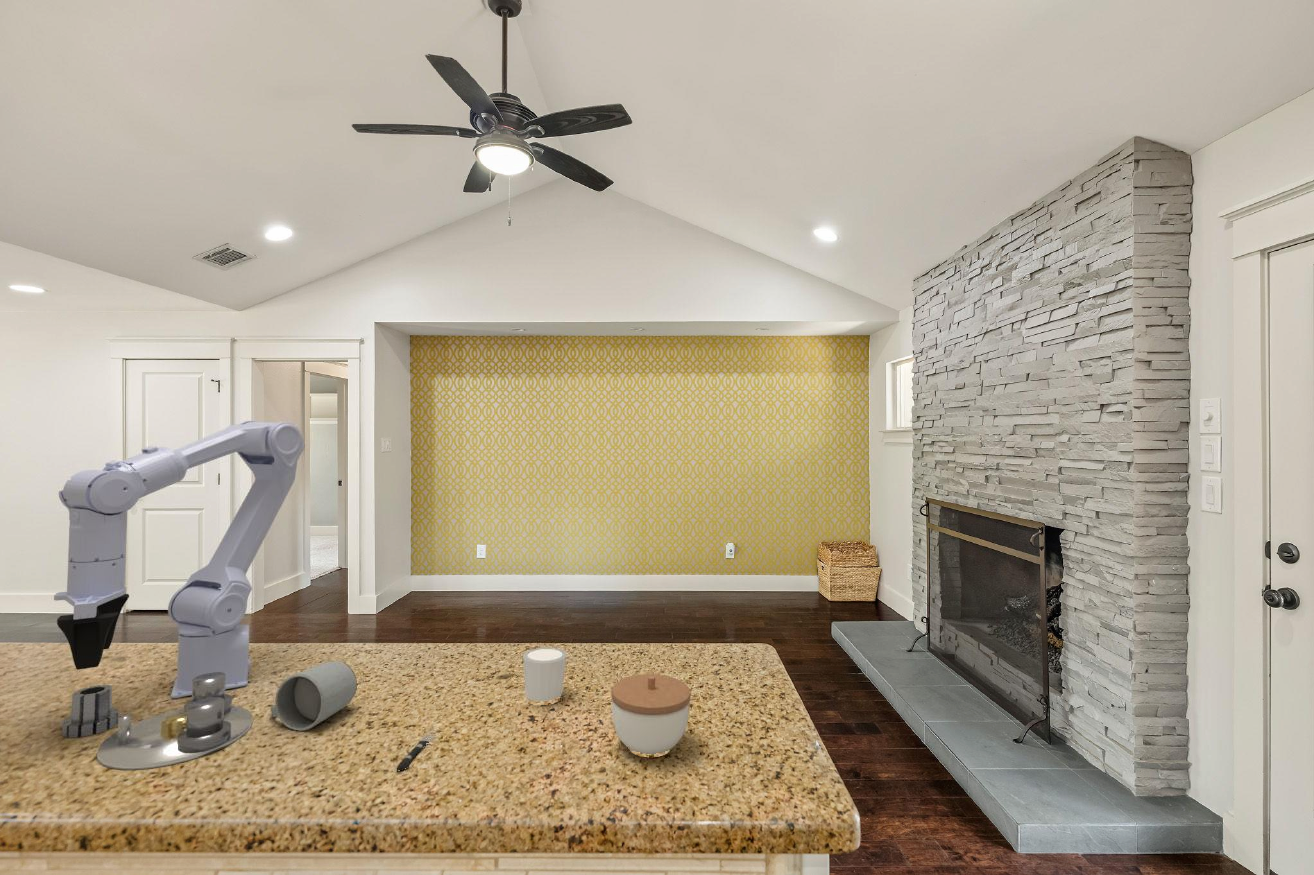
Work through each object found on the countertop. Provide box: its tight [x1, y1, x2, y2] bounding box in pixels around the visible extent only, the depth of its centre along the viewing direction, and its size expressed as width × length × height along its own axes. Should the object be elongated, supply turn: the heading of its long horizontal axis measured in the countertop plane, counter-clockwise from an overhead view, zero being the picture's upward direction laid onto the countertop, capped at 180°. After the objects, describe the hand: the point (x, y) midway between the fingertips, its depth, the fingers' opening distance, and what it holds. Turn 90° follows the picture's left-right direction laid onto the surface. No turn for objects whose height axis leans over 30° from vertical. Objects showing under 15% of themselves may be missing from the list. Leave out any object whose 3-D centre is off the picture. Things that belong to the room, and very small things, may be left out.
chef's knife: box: [396, 727, 437, 771], centre depth 81 cm, size 19×1×3 cm
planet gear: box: [61, 684, 120, 739], centre depth 80 cm, size 6×6×5 cm
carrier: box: [96, 672, 254, 771], centre depth 79 cm, size 16×16×6 cm
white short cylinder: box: [522, 647, 567, 702], centre depth 94 cm, size 7×7×7 cm
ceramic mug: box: [270, 660, 358, 732], centre depth 85 cm, size 11×8×8 cm
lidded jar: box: [611, 673, 692, 754], centre depth 80 cm, size 11×11×9 cm
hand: (93, 658), depth 80 cm, fingers open, 7 cm apart
